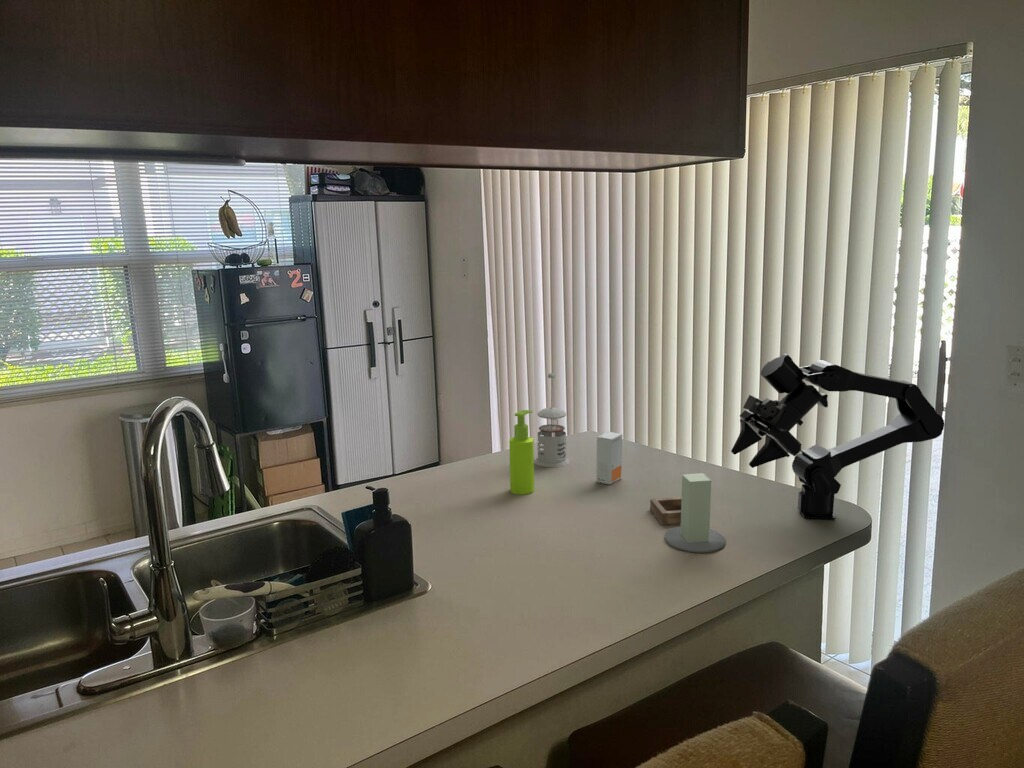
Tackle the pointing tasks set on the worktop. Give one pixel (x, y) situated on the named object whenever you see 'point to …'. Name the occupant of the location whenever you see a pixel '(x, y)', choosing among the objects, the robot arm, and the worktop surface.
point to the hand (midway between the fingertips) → (741, 459)
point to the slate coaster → (680, 543)
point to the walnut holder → (665, 504)
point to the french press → (552, 438)
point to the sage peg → (695, 507)
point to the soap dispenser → (521, 458)
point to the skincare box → (609, 458)
